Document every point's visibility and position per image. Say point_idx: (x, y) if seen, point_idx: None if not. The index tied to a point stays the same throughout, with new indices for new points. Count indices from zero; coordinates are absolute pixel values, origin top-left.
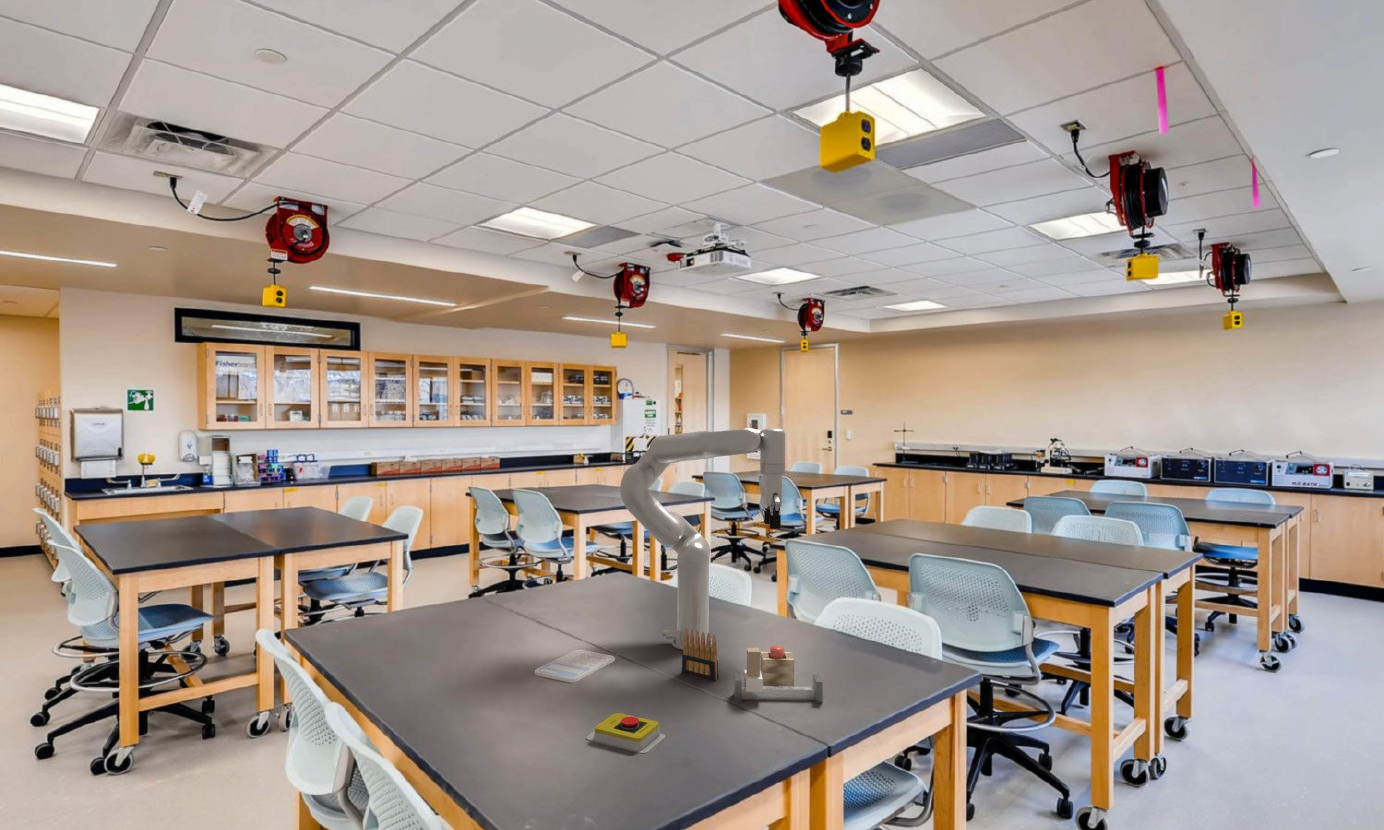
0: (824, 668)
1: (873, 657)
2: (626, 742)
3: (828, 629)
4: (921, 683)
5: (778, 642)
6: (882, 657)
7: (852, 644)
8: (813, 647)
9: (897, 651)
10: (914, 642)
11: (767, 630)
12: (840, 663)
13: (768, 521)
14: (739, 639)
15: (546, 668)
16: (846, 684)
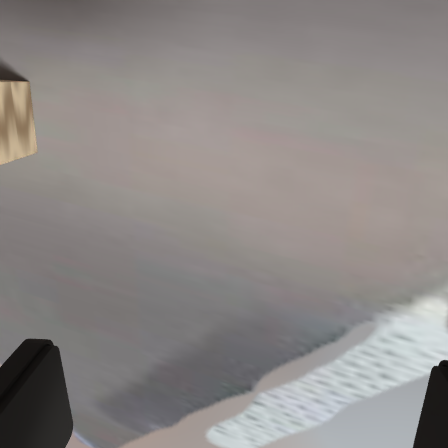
0: (105, 237)
1: (175, 345)
2: None
3: (377, 318)
4: None
5: (287, 175)
6: (175, 359)
7: (259, 333)
8: (243, 249)
9: (210, 395)
10: (263, 439)
11: (398, 166)
12: (137, 276)
13: (436, 421)
14: (325, 67)
15: None
16: (23, 253)
